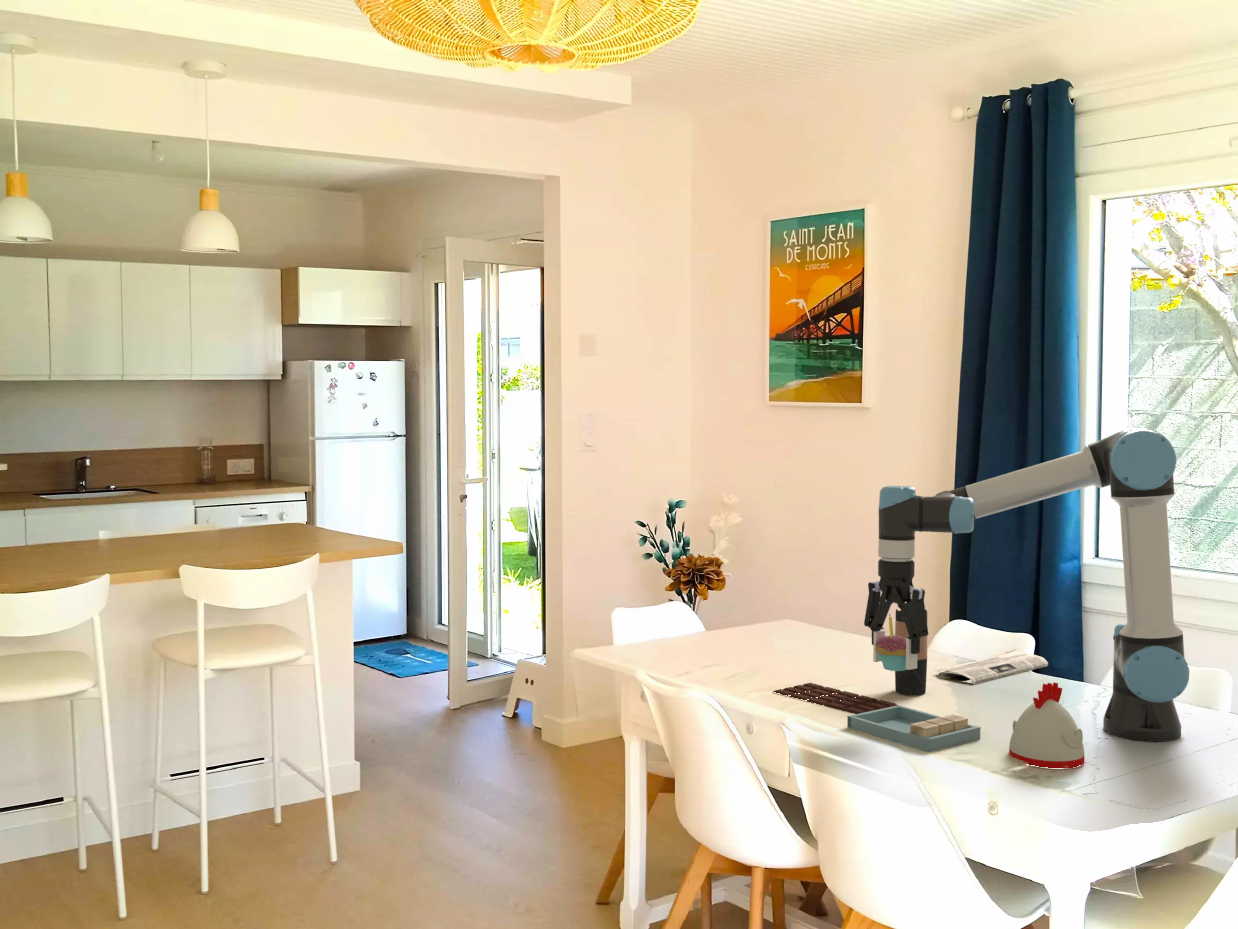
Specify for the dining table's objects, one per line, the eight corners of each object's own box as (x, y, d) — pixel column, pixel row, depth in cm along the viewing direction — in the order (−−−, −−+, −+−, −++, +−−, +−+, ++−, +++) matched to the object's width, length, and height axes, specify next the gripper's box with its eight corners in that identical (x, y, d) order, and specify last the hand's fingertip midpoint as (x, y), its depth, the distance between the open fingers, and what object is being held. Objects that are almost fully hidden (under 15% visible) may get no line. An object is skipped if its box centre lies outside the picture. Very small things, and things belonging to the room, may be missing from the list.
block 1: (938, 745, 240) (938, 725, 240) (925, 748, 238) (925, 728, 238) (923, 740, 244) (923, 721, 243) (910, 743, 241) (910, 724, 241)
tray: (980, 741, 245) (980, 727, 245) (928, 754, 236) (928, 739, 236) (898, 718, 263) (898, 705, 263) (847, 730, 254) (847, 716, 254)
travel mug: (927, 696, 283) (928, 613, 282) (894, 695, 284) (895, 612, 283) (926, 689, 290) (926, 608, 289) (893, 687, 292) (894, 607, 291)
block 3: (967, 737, 246) (967, 718, 245) (954, 740, 243) (955, 721, 243) (952, 733, 249) (952, 714, 249) (939, 736, 247) (939, 717, 246)
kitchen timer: (1098, 761, 231) (1100, 685, 231) (1056, 774, 223) (1057, 695, 223) (1037, 745, 243) (1038, 672, 242) (994, 756, 235) (995, 681, 234)
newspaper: (972, 686, 295) (973, 672, 294) (931, 678, 304) (931, 664, 304) (1050, 667, 317) (1051, 654, 316) (1009, 659, 326) (1009, 647, 326)
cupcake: (899, 675, 247) (900, 617, 246) (866, 668, 253) (866, 612, 252) (923, 669, 252) (924, 613, 252) (890, 662, 259) (891, 608, 258)
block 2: (953, 741, 243) (953, 722, 243) (940, 744, 241) (940, 725, 240) (937, 736, 246) (938, 717, 246) (924, 740, 244) (925, 720, 244)
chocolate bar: (771, 694, 287) (771, 690, 287) (809, 686, 295) (809, 682, 295) (859, 717, 266) (859, 712, 266) (897, 707, 274) (897, 703, 274)
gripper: (948, 563, 245) (946, 671, 246) (871, 552, 262) (870, 654, 263) (923, 565, 241) (921, 676, 242) (847, 555, 258) (846, 658, 259)
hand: (895, 664), depth 253 cm, fingers closed on cupcake, 8 cm apart
